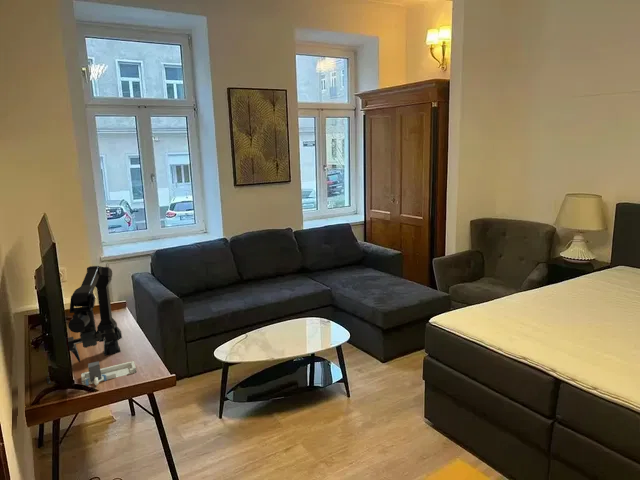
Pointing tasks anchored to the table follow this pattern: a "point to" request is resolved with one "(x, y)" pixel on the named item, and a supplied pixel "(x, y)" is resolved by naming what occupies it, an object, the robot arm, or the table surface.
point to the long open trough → (111, 372)
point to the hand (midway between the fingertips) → (92, 358)
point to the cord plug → (94, 372)
